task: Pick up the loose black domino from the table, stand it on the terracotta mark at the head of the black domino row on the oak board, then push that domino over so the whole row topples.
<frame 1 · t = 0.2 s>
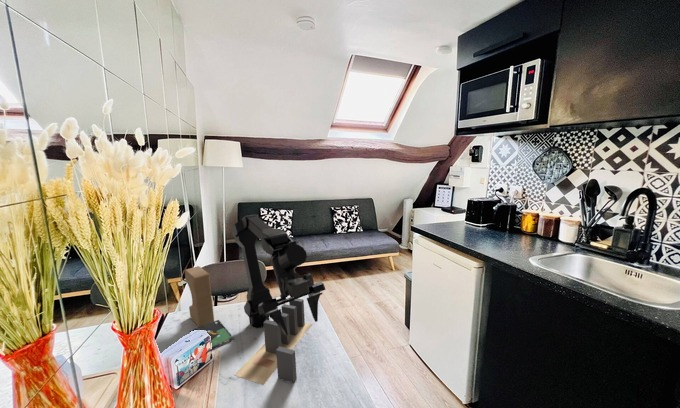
hand: (302, 328, 77), 15 cm above the table, tool tilted 30°, fingers open, 9 cm apart
domino 2: (273, 351, 88), point 1 cm above the table, touching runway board
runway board: (278, 349, 91), on the table
decorative block: (202, 320, 109), on the table
domino 3: (282, 341, 93), point 1 cm above the table, touching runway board
disk drive: (211, 341, 97), on the table
domino 4: (290, 332, 97), point 1 cm above the table, touching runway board
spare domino: (287, 382, 77), on the table
domino 5: (297, 324, 102), point 1 cm above the table, touching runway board
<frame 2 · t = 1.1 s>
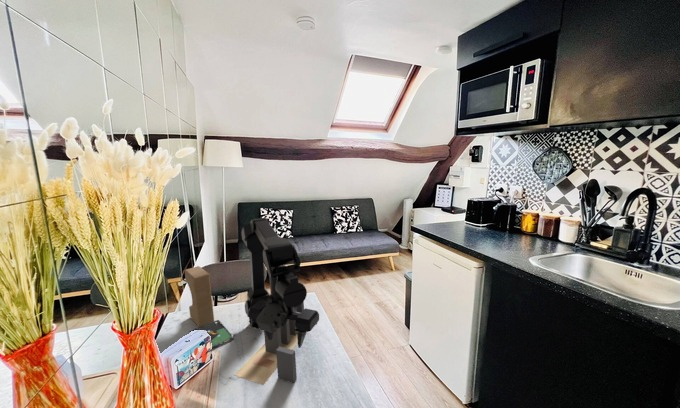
hand: (285, 343, 75), 12 cm above the table, tool pointing down, fingers open, 9 cm apart
nothing on the table moved.
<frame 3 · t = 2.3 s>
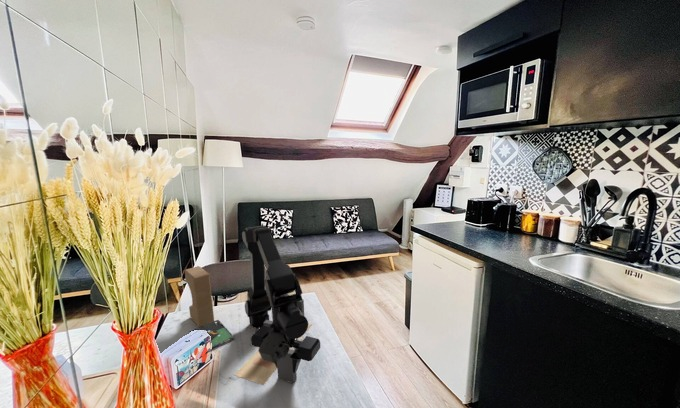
hand: (286, 369, 77), 4 cm above the table, tool pointing down, fingers closed on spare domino, 5 cm apart
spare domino: (287, 382, 77), on the table, touching gripper
everything else where it was.
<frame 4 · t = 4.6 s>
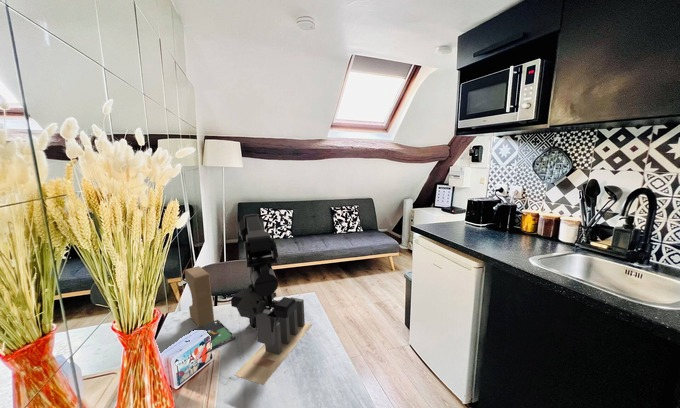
hand: (265, 329, 81), 13 cm above the table, tool pointing down, fingers closed on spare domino, 5 cm apart
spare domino: (266, 342, 81), point 9 cm above the table, touching gripper
everything else where it was.
when the fingers open (6 cm above the table, at t = 6.8 s): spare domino stays where it is, resting on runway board.
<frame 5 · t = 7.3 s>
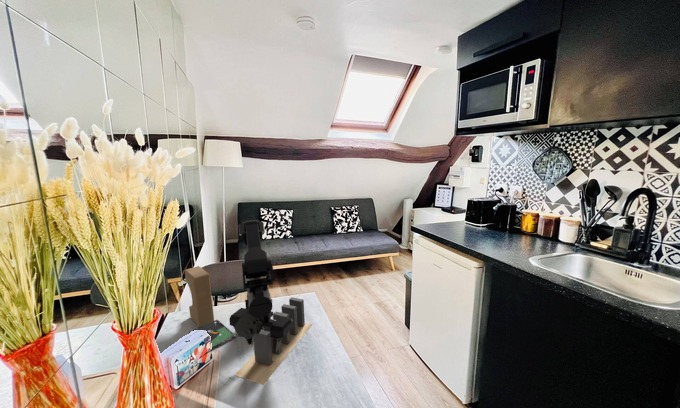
hand: (262, 347, 83), 6 cm above the table, tool pointing down, fingers open, 9 cm apart
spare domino: (263, 362, 83), point 1 cm above the table, touching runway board
everything else where it was.
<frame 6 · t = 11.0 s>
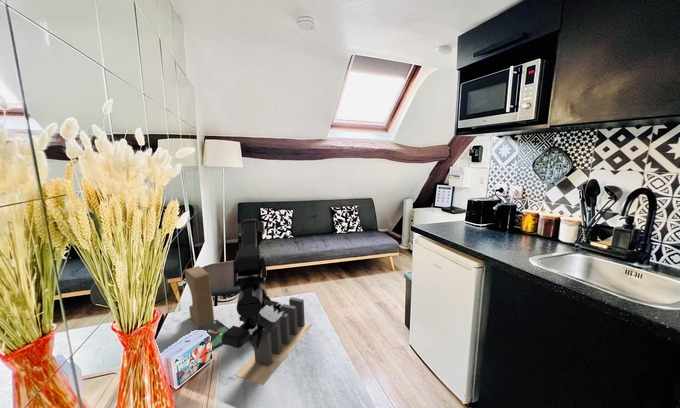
hand: (256, 348, 80), 8 cm above the table, tool pointing down, fingers closed
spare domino: (263, 362, 83), point 1 cm above the table, touching gripper, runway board
everything else where it was.
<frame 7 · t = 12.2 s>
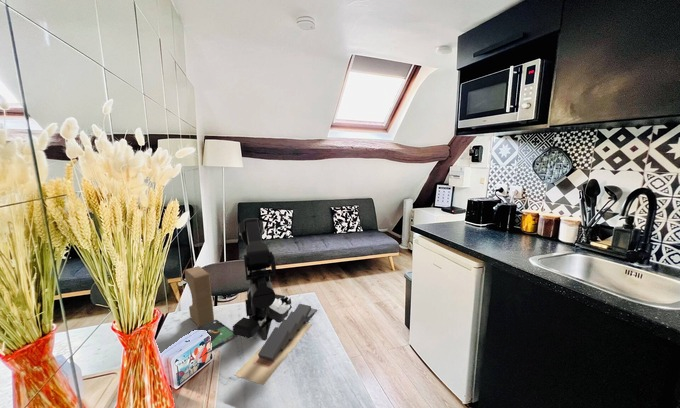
hand: (264, 339, 83), 8 cm above the table, tool pointing down, fingers closed
domino 2: (275, 347, 89), point 2 cm above the table, tilted 72°, touching domino 3, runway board, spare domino
domino 3: (283, 337, 93), point 2 cm above the table, tilted 71°, touching domino 2, domino 4, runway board
domino 4: (292, 328, 98), point 2 cm above the table, tilted 71°, touching domino 3, domino 5
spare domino: (265, 357, 84), point 2 cm above the table, tilted 72°, touching domino 2, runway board
domino 5: (299, 320, 103), point 2 cm above the table, tilted 98°, touching domino 4, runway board
everything else where it was.
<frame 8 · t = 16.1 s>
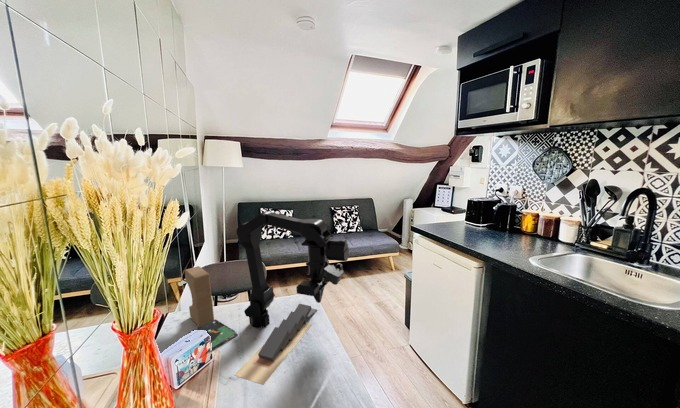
hand: (318, 302, 94), 13 cm above the table, tool pointing down, fingers closed
at the end: domino 5 tilted 98°; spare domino tilted 72°; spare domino inside the target area (0.9 cm from its centre), point 2.0 cm above the table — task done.
